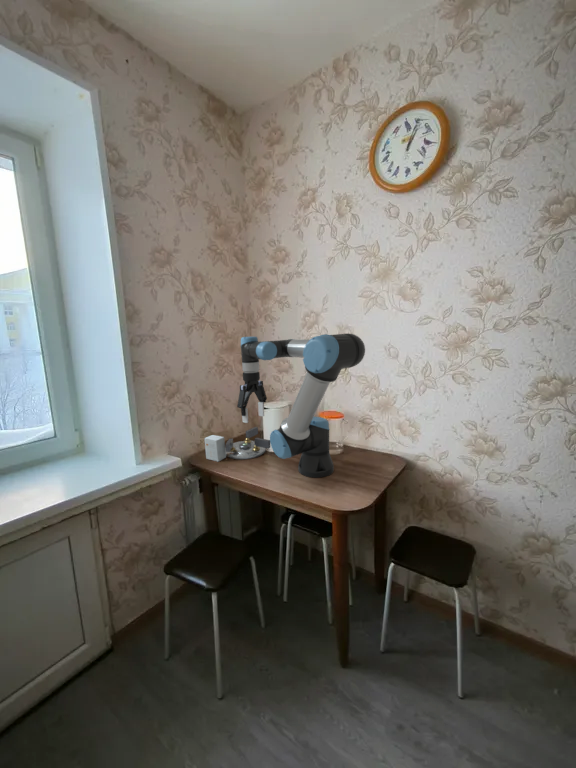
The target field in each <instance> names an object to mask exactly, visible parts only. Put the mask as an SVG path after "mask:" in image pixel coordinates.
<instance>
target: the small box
mask: <svg viewBox="0 0 576 768" xmlns="http://www.w3.org/2000/svg"><path fill="white" fill-rule="evenodd" d="M225 444H226V441H225V437H224V436H221V435H215V434H212V435H208V436H206V437H204V449H205V458H206V460H211V461H213V462H220V461H222V460H224V459H226V458H227V456H226V451H225V448H226V447H225Z"/></svg>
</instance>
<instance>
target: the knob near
mask: <svg viewBox="0 0 576 768" xmlns="http://www.w3.org/2000/svg"><path fill="white" fill-rule="evenodd" d="M254 441H255V445H254V447H253V451H259V450H260V447H263V448H265V449H270V448H271V443H270V439H265V438H260V437H255V438H254Z"/></svg>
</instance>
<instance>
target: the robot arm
mask: <svg viewBox="0 0 576 768" xmlns="http://www.w3.org/2000/svg"><path fill="white" fill-rule="evenodd" d="M258 339H259V338H258V337H257V336H242V337H241V338H240V352H241V353H240V354H241V366H242V380H243V381H244V384H240V385H239V393H238V399H237V400H238V401H237V407H236V408H238V409H240V411H241V412H240V413H241V418H242V423H245V424H248V423H249V411H248V409H249V408H248V407H247V406H248V403H249V399H250V397H251V395H252V394H253V393H254V395H255V396H256V398H257V400H258V402H257V406H258V409H257V410H258V416H259V417H265V403H266V402H267V400H268V397H267V394H266V390H265V387H264V381H263V380H260V379H261V376H260V375H261V374H260V360H261V361H262V360H263V361H271V360H273V359H281V358H303V359H302V361H303V365H304V370H305V371H306V374H305V376H304V379H303V381H302V384H301V386H300V388H299V390H298V393H297V395H296V397H295V400H294V402H293V404H292V408H291V410H290V411H289V415H288V417H286V418H284V419H283V420H282V422H281V424H280V426H279V428H277V429H274V430H272V431H271V433H270V434H269V440H270V447H271V448H272V450H273V453H274V455H276V456H277V457H278V458H280V459H283V460H285V459H291V458H292V457H295V456H298V455H300V454H301V455H300V458H299V462H298V466H297V467H298V469H297V470H298V472H299V474H301V475H302V476H303V477H304V476H305V477H309V478H314V479H315V478H324V477H328V476H330V475H332V474H333V473H334V470H335V469H334V463H333V460H332V457H331V454H330V426H329V425H330V423H329V420H327V419H326V418H324V417H320V416H315V414H316V413H317V411H318V408H319V407H320V404H321V402H322V401H323V398H324V396H325V394H326V392H327V389H328V387H329V385H330V383H333V382H336V380H338V377H339V375H340V373H341V371H342V370H345V369H350V368H354V367H356V366H358V365H359V364H360V363H361V362H362V361H363V360H364V358H365V355H366V345H365V343H364V341H363V340H362V339H361V338H360V337H359V336H358V335H357V334H354V333H340V334H339V333H338V334H337V333H336V334H328V333H327V334H321V335H316V336H314V337H311V338H310V339H295V338H294V339H293V338H292V339H291V338H290V339H279V340H266V341H264V340H263V341H259V340H258Z"/></svg>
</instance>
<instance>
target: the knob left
mask: <svg viewBox="0 0 576 768" xmlns="http://www.w3.org/2000/svg"><path fill="white" fill-rule="evenodd" d="M233 443H234V438H228V440H227V441H226V442H225V448H226V452H230V451H235V447H233Z"/></svg>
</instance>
